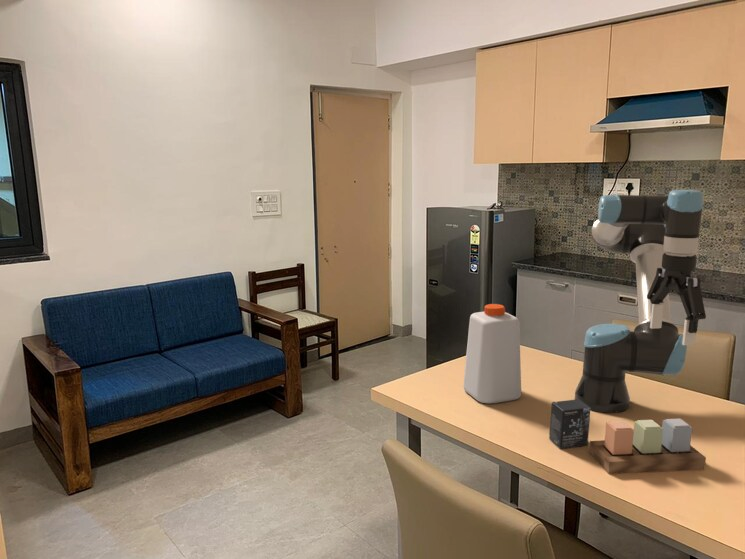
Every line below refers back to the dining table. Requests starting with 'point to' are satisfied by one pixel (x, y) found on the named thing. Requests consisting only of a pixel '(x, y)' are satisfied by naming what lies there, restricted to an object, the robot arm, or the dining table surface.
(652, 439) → the sage button
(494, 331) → the plastic bottle
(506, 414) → the dining table surface
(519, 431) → the dining table surface
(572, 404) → the box
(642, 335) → the robot arm
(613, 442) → the salmon pink block
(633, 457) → the wooden tray
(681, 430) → the slate button
